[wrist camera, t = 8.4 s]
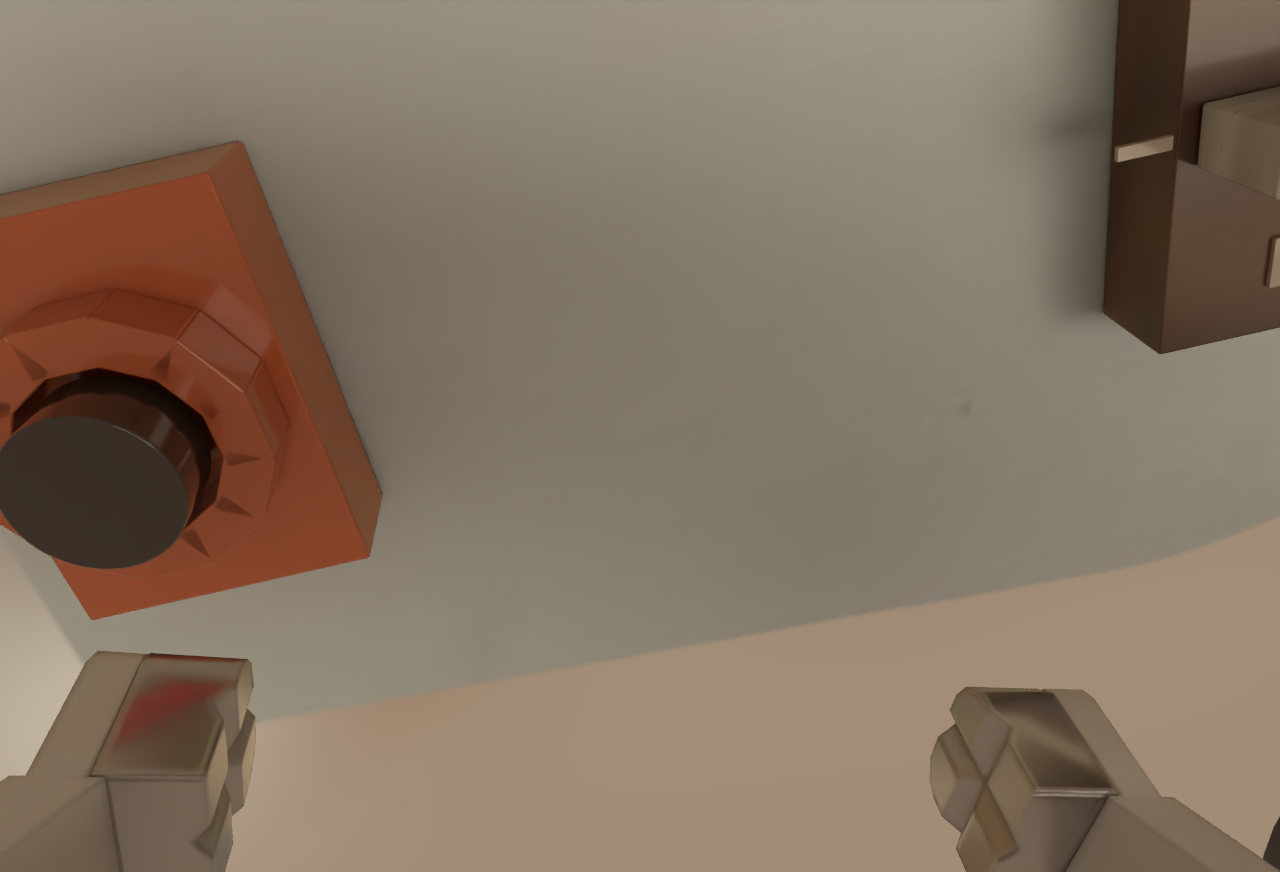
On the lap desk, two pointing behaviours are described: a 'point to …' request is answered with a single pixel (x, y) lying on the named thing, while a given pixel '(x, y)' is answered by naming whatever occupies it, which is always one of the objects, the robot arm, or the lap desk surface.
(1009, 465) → the lap desk surface
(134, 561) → the button
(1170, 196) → the panel
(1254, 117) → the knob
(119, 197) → the orange knob box
